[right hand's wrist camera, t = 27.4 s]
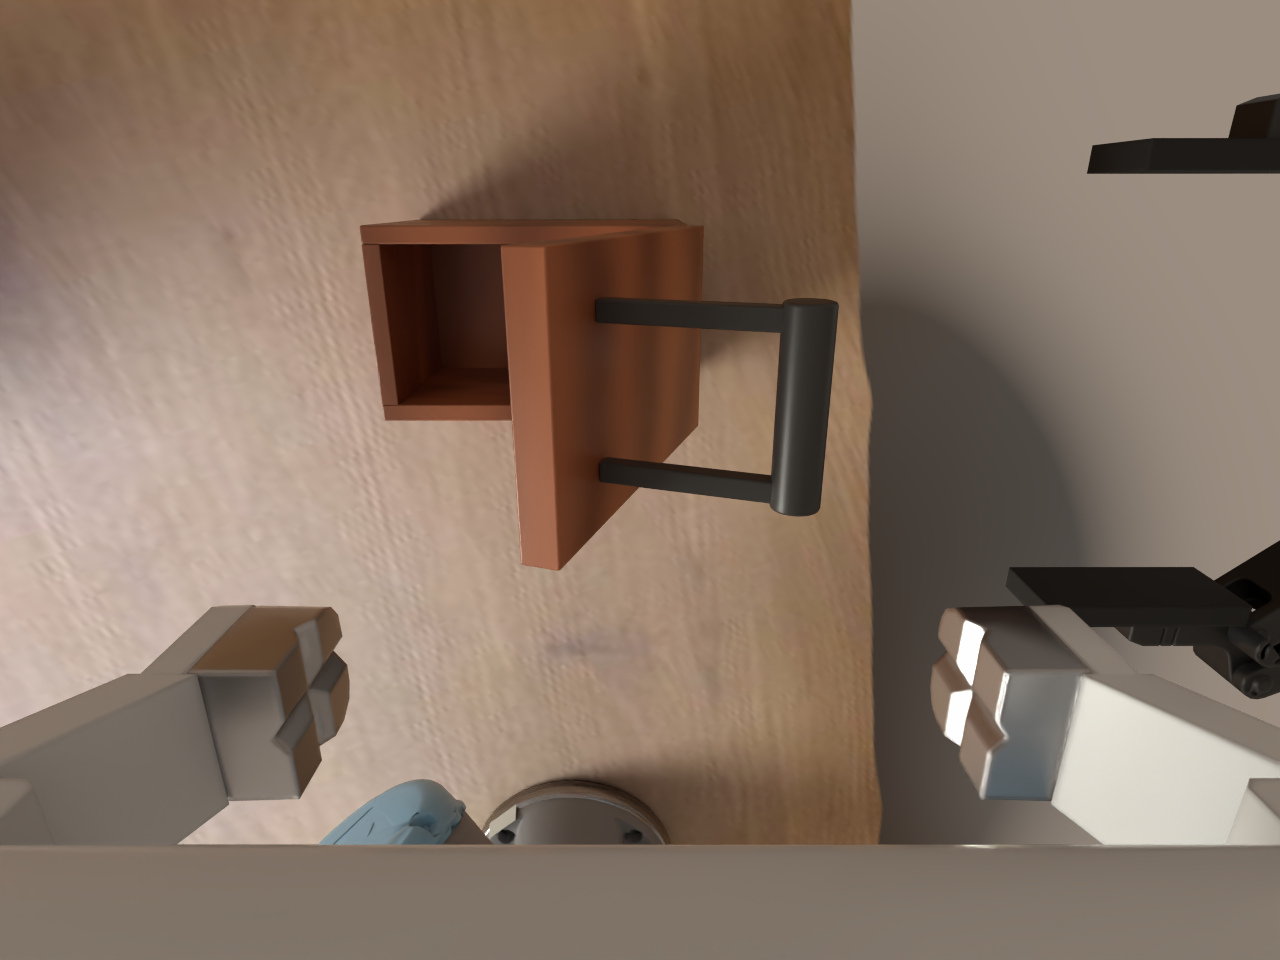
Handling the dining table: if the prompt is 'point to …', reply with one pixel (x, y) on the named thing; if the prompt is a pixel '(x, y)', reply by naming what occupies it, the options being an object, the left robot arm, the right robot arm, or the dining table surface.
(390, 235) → the chest
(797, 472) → the lid
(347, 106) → the dining table surface
